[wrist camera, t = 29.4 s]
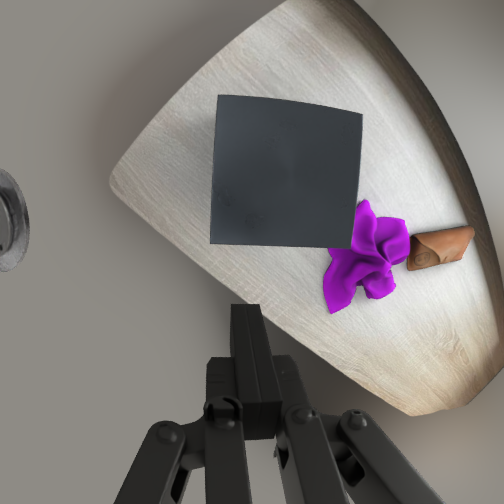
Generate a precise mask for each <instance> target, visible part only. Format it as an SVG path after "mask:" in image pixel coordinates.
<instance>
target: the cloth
mask: <svg viewBox="0 0 504 504" xmlns="http://www.w3.org/2000/svg"><path fill="white" fill-rule="evenodd" d="M328 251H329V253H330V255H331V257H332V258H333V261H332V263H331V265H330V267H329V268H328V270H327V271H326V273H325V276H324V280H323V291H324V296H325V300H326V302H327V305H328V308H329V311H330V314H333V313H335V312H337V311H339V310H341V309H343V308H345V307H347V306H348V305H349V304H350V303H351V300H352V298H353V296H354V294H355V291H356V287H357V286H361V285H362V286H364V290H365V293H366V296H367V297H368V299H370V298H373V299H381V298H383V297H385V296H386V295H388V294H390V293H391V292H393V290H394V289H395V287H396V284H395V283H394V279H393V275H392V272H391V270H390V268H391V266H392V265H396V264H399V263H401V262H403V261H404V260H405V259H406V258H407V256H408V255H409V253H410V238H409V233H408V231H407V228H406V226H405V221H404V220H402V219H398V218H392V217H380V218H376V216H375V214H374V213H373V212H372V210H371V208H370V203H369V202H368V201H367V200H363V201H362V202H361V204H359V205H358V206H357V207H356V214H355V222H354V229H353V236H352V243H351V249H340V248H328Z"/></svg>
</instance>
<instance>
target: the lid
mask: <svg viewBox="0 0 504 504" xmlns="http://www.w3.org/2000/svg"><path fill="white" fill-rule="evenodd" d="M362 130H363V114H360V113H356V112H351V111H347V110H342V109H337V108H332V107H327V106H322V105H316V104H310V103H304V102H297V101H290V100H282V99H274V98H264V97H253V96H239V95H218V100H217V112H216V125H215V140H214V156H213V174H212V195H211V223H210V244H227V245H258V246H287V247H314V248H340V249H351V243H352V236H353V229H354V222H355V214H356V206H357V197H358V187H359V176H360V164H361V149H362Z"/></svg>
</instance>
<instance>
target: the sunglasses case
mask: <svg viewBox="0 0 504 504" xmlns="http://www.w3.org/2000/svg"><path fill="white" fill-rule="evenodd" d="M473 237H474V230H473V228H472V227H471V226H469V225H466V226H461V227H456V228H451V229H445V230H439V231H433V232H426V233H419V234H414V235H412V236H411V237H410V253H409V255H408V256H407V269H408V271H413V270H418V269H423V268H427V267H431V266H435V265H439V264H444V263H448V262H452V261H457V260H461V259H462V256H463V254H464V252H465V250H466V248H467V246H468V244H469V242H470V240H471V239H472V238H473Z"/></svg>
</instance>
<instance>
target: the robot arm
mask: <svg viewBox="0 0 504 504" xmlns="http://www.w3.org/2000/svg"><path fill="white" fill-rule="evenodd" d="M12 237H13V223H12V217H11V213H10V209H9V207H8V204H7V202H6V200H5V198H4V197H3V195H2V194H1V193H0V257H1V256H2V255H4V254H5V253H6V252H7V251H8V249H9V248H10V245H11V242H12ZM230 353H231V357H211V359H210V361H209V362H208V364H207V373H206V402H205V404H204V408H203V410H204V415H203V416H202V417H201V418H200V419H199V420H197V421H195V422H192V423H189V424H185V425H179V424H177V423H175V422H173V421H160V422H157V423H155V424H154V425H152V426H151V428H150V429H149V430H148V433H147V435H146V437H145V439H144V441H143V443H142V445H141V447H140V449H139V451H138V453H137V455H136V457H135V460H134V462H133V464H132V466H131V468H130V470H129V472H128V474H127V476H126V478H125V480H124V483H123V485H122V487H121V489H120V491H119V493H118V495H117V498H116V500H115V502H114V504H181V501H182V498H183V495H184V492H185V489H186V486H187V483H188V480H189V477H190V474H191V471H192V470H193V469H197V468H201V467H205V492H206V504H252V498H251V490H250V482H249V475H248V467H247V459H246V450H245V442H244V440H261V439H274V436H275V434H276V439H277V444H276V447H275V451H274V457H276V456H277V458H278V464H279V469H280V473H281V479H282V484H283V489H284V494H285V499H286V503H287V504H350V503H349V500H348V497H347V494H346V491H347V493H348V494H349V496H350V497H351V498H352V500H353V501H354V503H355V504H446V503H445V502H444V501H443V500H442V499H441V498H440V496H439V495H438V494H437V493H436V492H435V491H434V490H433V488H432V487H431V486H430V485H429V484H428V483H427V482H426V480H424V478H423V477H422V476H421V475H420V474H419V472H418V471H417V470H416V469H415V468H414V467H413V466H412V464H411V463H410V462H409V461H408V460H407V459H406V457H405V456H404V455H403V454H402V453H401V452H400V450H399V449H398V448H397V447H396V446H395V445H394V443H393V442H392V441H391V440H390V439H389V438H388V437H387V435H386V434H385V433H384V432H383V431H382V429H381V428H380V427H379V426H378V425H377V424H376V422H375V421H374V420H373V419H372V418H371V416H370V415H369V414H367V413H366V412H364V411H362V410H358V409H352V410H348V411H346V412H345V413H343V415H342V416H334V415H327V414H322V413H320V412H318V411H317V410H316V409H315V408H314V407H312V406H311V404H310V402H309V399H308V396H307V393H306V390H305V387H304V384H303V381H302V379H301V375H300V372H299V370H298V366H297V364H296V361H295V360H294V359H293V358H292V357H291V356H290V355H279V356H272V354H271V350H270V346H269V342H268V337H267V333H266V329H265V325H264V321H263V317H262V313H261V309H260V304H231V322H230ZM345 490H346V491H345Z"/></svg>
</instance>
